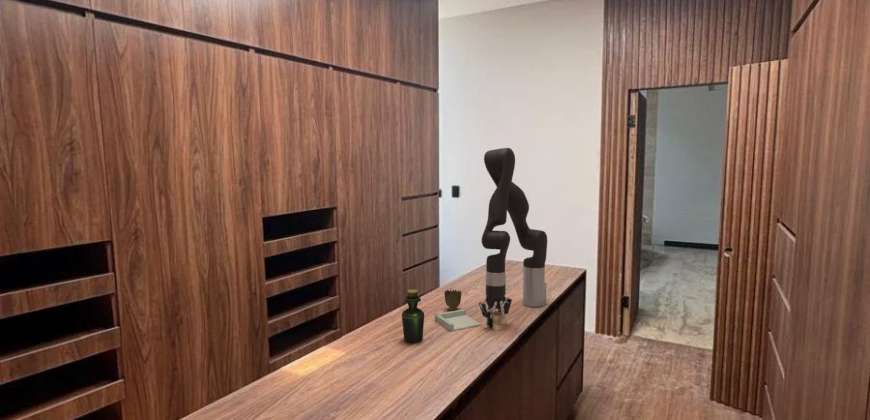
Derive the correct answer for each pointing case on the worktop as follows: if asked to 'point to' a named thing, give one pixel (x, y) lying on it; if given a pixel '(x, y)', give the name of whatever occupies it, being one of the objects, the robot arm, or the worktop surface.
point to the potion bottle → (413, 319)
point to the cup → (452, 299)
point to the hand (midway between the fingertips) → (495, 326)
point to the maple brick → (498, 321)
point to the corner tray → (455, 320)
